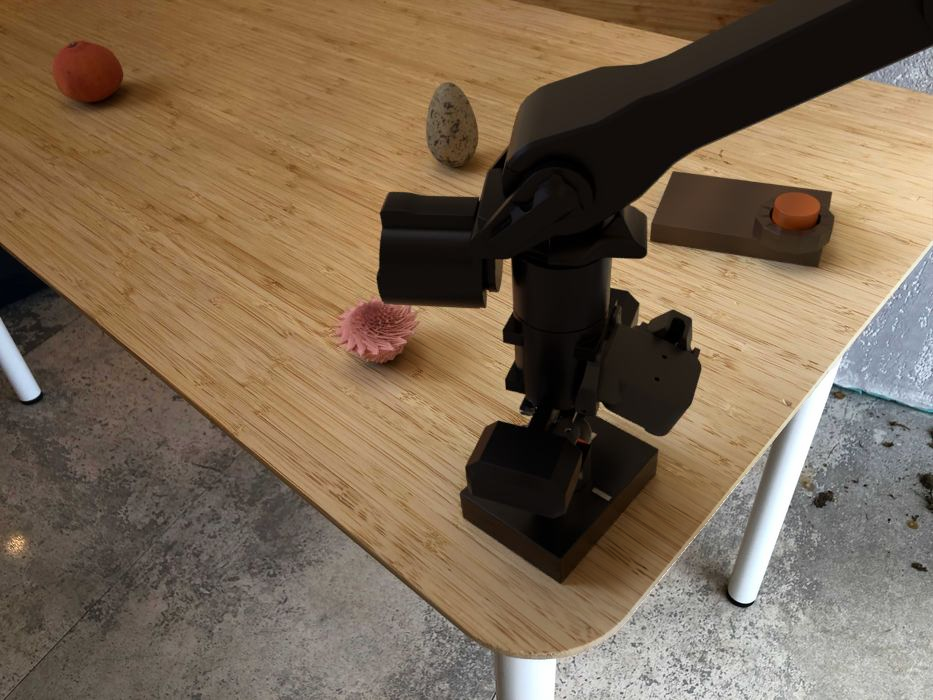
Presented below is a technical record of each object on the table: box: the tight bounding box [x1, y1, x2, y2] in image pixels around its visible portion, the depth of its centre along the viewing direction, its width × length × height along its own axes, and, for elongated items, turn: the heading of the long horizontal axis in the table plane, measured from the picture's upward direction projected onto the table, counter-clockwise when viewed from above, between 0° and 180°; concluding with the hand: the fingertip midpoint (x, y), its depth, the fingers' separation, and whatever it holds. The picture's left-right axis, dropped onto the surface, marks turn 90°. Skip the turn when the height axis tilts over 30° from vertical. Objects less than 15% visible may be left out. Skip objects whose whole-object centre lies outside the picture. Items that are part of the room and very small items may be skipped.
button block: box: [649, 170, 836, 268], centre depth 84 cm, size 16×12×4 cm
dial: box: [554, 411, 592, 492], centre depth 60 cm, size 4×4×4 cm
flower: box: [328, 295, 421, 364], centre depth 75 cm, size 8×8×6 cm
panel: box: [459, 415, 660, 585], centre depth 62 cm, size 12×9×3 cm
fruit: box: [51, 39, 124, 103], centre depth 118 cm, size 9×9×8 cm
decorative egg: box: [425, 81, 479, 168], centre depth 96 cm, size 6×6×10 cm
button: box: [772, 192, 820, 231], centre depth 79 cm, size 4×4×2 cm
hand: (559, 467), depth 61 cm, fingers closed on dial, 4 cm apart
